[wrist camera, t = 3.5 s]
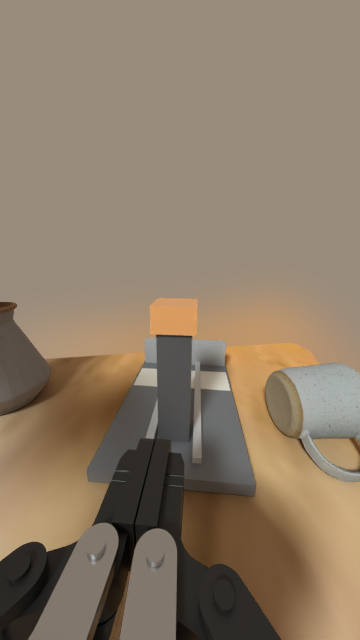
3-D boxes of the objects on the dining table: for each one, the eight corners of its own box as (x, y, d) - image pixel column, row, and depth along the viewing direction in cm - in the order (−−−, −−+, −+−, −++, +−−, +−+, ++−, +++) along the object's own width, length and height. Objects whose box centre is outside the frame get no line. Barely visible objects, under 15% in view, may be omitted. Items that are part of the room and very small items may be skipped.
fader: (192, 445, 20) (197, 307, 17) (153, 442, 21) (149, 305, 17) (193, 417, 24) (197, 298, 21) (160, 415, 24) (158, 297, 21)
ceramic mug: (258, 407, 28) (265, 354, 26) (317, 404, 29) (328, 352, 27) (313, 493, 18) (332, 416, 16) (402, 484, 19) (432, 410, 17)
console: (254, 496, 18) (261, 444, 16) (88, 481, 19) (81, 431, 17) (223, 367, 39) (225, 340, 37) (146, 363, 40) (145, 337, 38)
